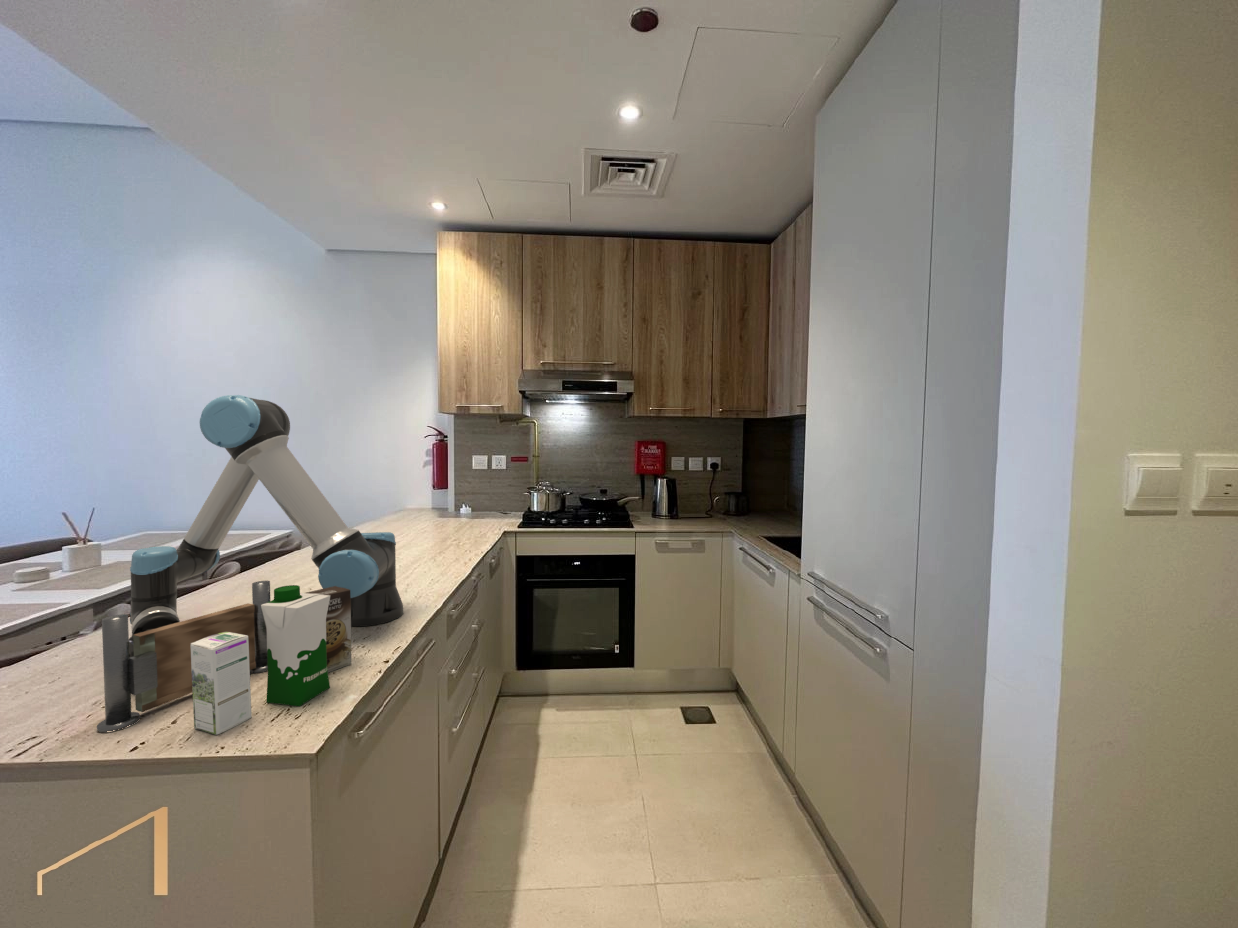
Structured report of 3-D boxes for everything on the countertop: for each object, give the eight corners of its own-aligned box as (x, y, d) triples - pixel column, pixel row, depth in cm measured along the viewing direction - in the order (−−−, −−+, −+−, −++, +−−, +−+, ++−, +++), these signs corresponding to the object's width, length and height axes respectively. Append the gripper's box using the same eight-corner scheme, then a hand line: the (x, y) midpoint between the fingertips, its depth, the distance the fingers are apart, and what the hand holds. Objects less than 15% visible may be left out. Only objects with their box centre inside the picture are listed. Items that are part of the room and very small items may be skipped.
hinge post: (268, 660, 105) (266, 578, 104) (283, 664, 103) (281, 580, 102) (242, 670, 100) (240, 584, 99) (257, 675, 98) (255, 587, 97)
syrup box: (253, 717, 83) (251, 633, 82) (214, 736, 77) (212, 647, 77) (230, 711, 85) (228, 629, 84) (191, 730, 79) (188, 642, 78)
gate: (249, 666, 100) (248, 603, 99) (255, 667, 99) (254, 604, 99) (135, 709, 83) (133, 634, 83) (142, 712, 82) (139, 636, 82)
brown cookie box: (307, 681, 95) (305, 600, 95) (291, 673, 99) (289, 595, 98) (353, 663, 103) (351, 588, 103) (336, 657, 107) (335, 584, 106)
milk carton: (298, 681, 95) (296, 580, 95) (338, 686, 94) (336, 583, 93) (257, 704, 87) (254, 594, 86) (300, 710, 85) (297, 597, 84)
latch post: (142, 709, 85) (138, 608, 85) (158, 715, 83) (155, 612, 83) (90, 728, 79) (86, 620, 79) (106, 736, 77) (102, 624, 77)
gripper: (200, 637, 109) (215, 673, 92) (109, 655, 98) (107, 699, 82) (200, 604, 108) (214, 634, 92) (108, 619, 98) (107, 656, 82)
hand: (164, 665), depth 87 cm, fingers closed
